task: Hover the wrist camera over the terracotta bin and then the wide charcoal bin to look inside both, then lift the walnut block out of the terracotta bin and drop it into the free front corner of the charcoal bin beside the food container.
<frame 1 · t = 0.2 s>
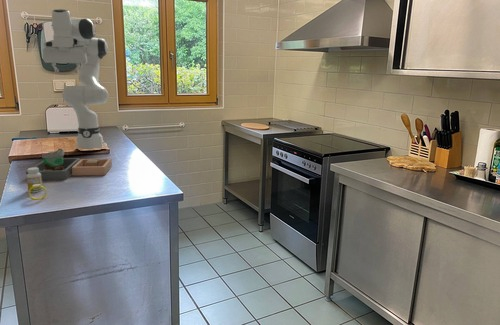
hand: (66, 72, 187), 47 cm above the countertop, fingers open, 8 cm apart
timer: (38, 199, 147), on the countertop
walnut block: (92, 166, 185), in the terracotta bin
food container: (58, 171, 184), resting in charcoal bin
charcoal bin: (55, 172, 181), on the countertop
supplement bottle: (36, 190, 156), on the countertop
terracotta bin: (93, 170, 186), on the countertop
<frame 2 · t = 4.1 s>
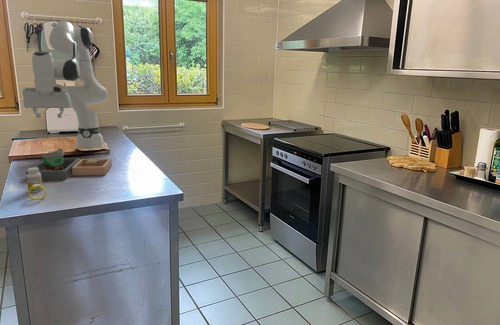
hand: (49, 117, 174), 27 cm above the countertop, fingers open, 8 cm apart
nothing on the countertop moved.
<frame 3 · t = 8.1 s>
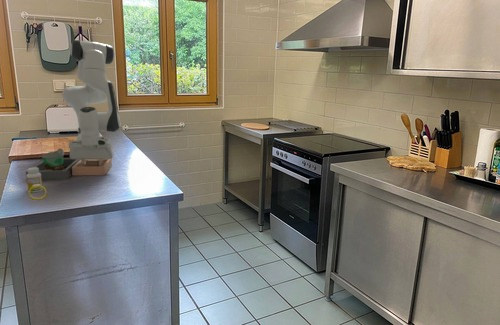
hand: (93, 167, 186), 2 cm above the countertop, fingers closed on walnut block, 5 cm apart
walnut block: (92, 165, 185), in the terracotta bin, touching gripper
everything else where it was.
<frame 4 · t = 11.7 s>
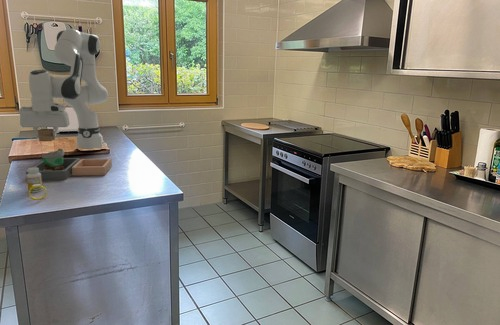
hand: (46, 136, 171), 19 cm above the countertop, fingers closed on walnut block, 5 cm apart
walnut block: (46, 134, 171), point 20 cm above the countertop, touching gripper
everything else where it was.
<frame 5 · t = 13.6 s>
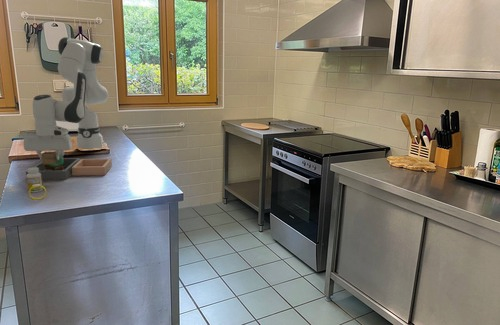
hand: (49, 159, 174), 8 cm above the countertop, fingers closed on walnut block, 5 cm apart
walnut block: (49, 157, 173), point 9 cm above the countertop, touching gripper
everything else where it was.
when the fingers open (4 cm above the countertop, at t = 15.3 s): walnut block drops 3 cm, resting in charcoal bin.
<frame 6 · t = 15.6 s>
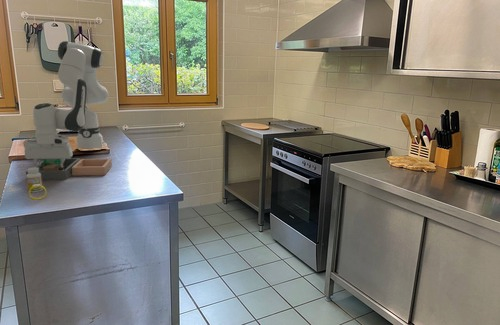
hand: (50, 167, 175), 4 cm above the countertop, fingers open, 8 cm apart
walnut block: (51, 171, 175), in the charcoal bin
everything else where it was.
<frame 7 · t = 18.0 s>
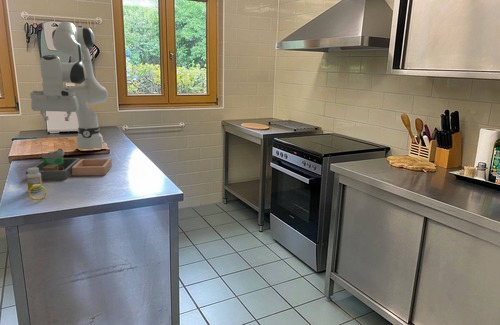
hand: (56, 120, 176), 26 cm above the countertop, fingers open, 8 cm apart
nothing on the countertop moved.
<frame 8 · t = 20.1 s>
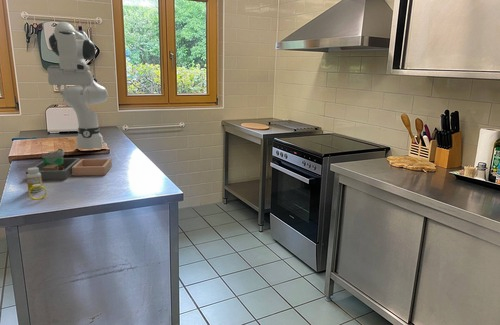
hand: (72, 94, 184), 37 cm above the countertop, fingers open, 8 cm apart
nothing on the countertop moved.
at the end: walnut block inside the target area on the charcoal bin (0.5 cm from its centre), point 2.4 cm above the charcoal bin's base; the gripper is holding nothing; food container moved 0.2 cm from its start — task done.
